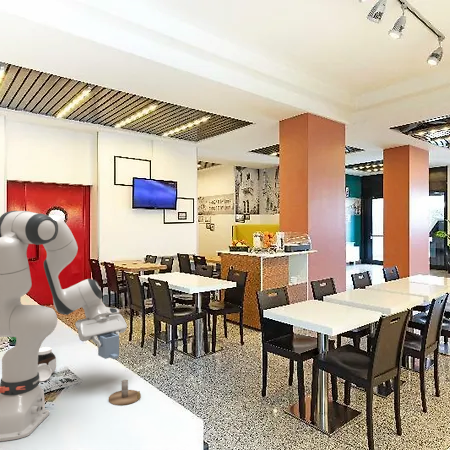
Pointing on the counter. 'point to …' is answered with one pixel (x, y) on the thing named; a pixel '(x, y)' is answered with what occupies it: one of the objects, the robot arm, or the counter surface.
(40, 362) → the spread jar
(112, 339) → the open square bin
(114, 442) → the counter surface
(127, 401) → the post plate
